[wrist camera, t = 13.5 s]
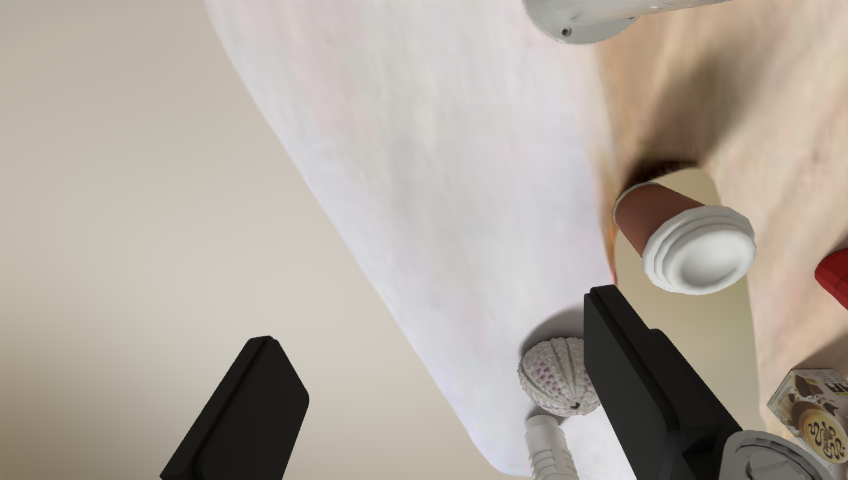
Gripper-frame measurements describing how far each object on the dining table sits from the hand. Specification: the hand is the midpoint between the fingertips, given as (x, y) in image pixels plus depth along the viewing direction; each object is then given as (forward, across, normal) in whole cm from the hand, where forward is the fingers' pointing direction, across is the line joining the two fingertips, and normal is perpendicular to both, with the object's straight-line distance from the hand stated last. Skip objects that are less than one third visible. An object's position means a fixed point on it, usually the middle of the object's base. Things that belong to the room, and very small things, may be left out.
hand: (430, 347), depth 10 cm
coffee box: (+30, -48, +50) cm, 76 cm away
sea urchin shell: (+31, -12, +38) cm, 50 cm away
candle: (+31, -9, +54) cm, 63 cm away
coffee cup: (+30, -22, +13) cm, 40 cm away
